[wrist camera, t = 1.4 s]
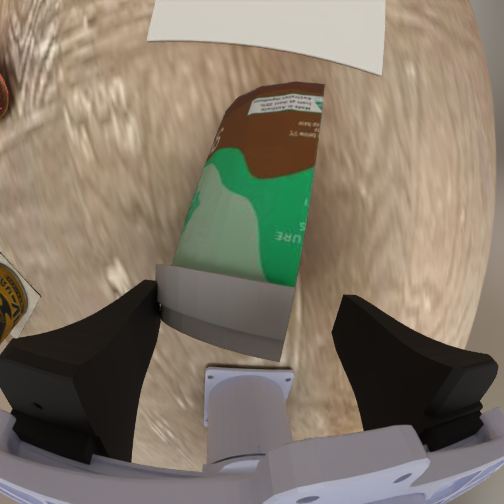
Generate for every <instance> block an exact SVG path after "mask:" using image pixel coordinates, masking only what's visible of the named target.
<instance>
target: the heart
mask: <svg viewBox="0 0 504 504" xmlns="http://www.w3.org/2000/svg"><path fill="white" fill-rule="evenodd" d="M8 104H9V97H8V90H7V87H6V83H5V80H4V78H3V76H2V75H1V73H0V119H1V118H2V117H3V116H4V115H5V113H6V111H7V109H8Z"/></svg>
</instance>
